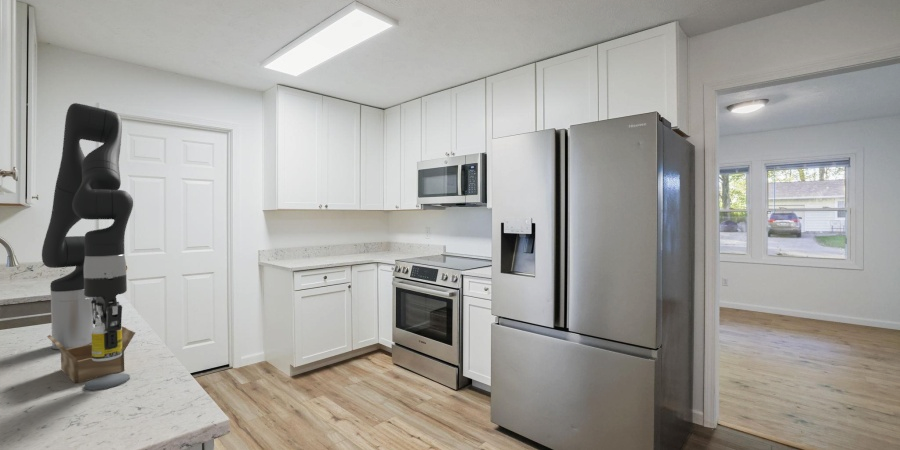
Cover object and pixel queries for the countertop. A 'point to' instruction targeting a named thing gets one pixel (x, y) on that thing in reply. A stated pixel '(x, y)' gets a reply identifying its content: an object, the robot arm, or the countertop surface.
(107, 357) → the supplement bottle
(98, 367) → the carton
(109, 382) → the coaster
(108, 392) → the countertop surface
